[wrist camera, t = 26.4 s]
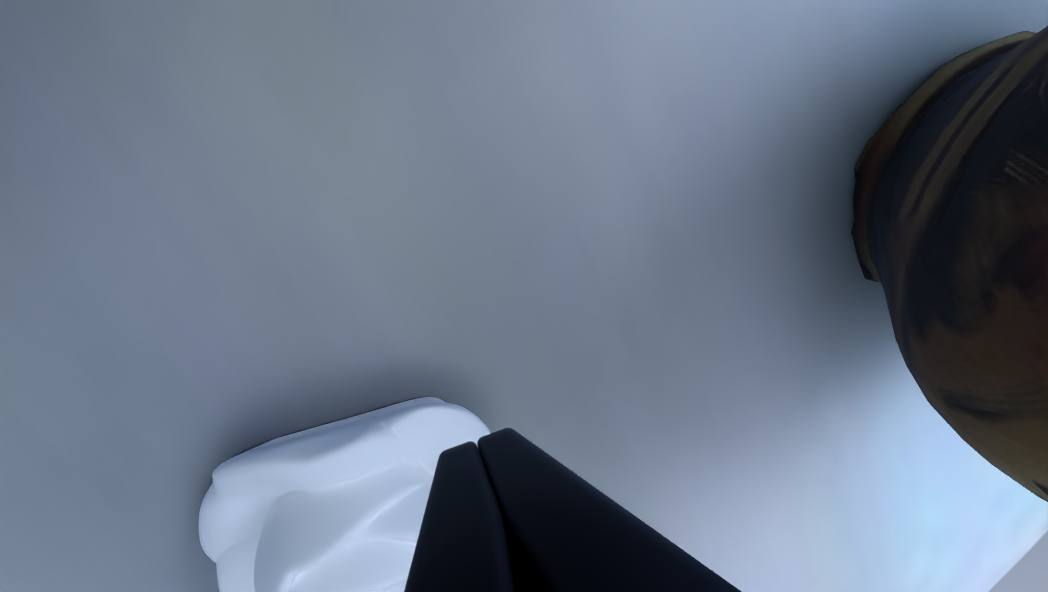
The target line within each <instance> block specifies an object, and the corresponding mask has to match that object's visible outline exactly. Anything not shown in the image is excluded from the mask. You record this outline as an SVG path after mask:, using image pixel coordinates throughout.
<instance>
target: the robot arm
mask: <svg viewBox="0 0 1048 592" xmlns="http://www.w3.org/2000/svg"><path fill="white" fill-rule="evenodd" d="M477 445H478V446H477ZM477 445H476V443H475V442H472V441H469V442H466V443H463V444H460V445H457V446H455V447H452V448H449V449H446V450H444V451H443V452H442V453H441V454H440V456H439V458H438V462H437V466H436V470H435V474H434V478H433V481H432V485H431V489H430V493H429V497H428V501H427V505H426V508H425V512H424V516H423V520H422V524H421V528H420V532H419V536H418V539H417V543H416V547H415V551H414V555H413V559H412V563H411V566H410V570H409V574H408V578H407V582H406V586H405V590H404V592H741V591H740V590H738V589H737V588H736V587H734V586H733V585H731V584H730V583H729V582H727V581H726V580H724V579H723V578H722V577H720V576H719V575H717V574H716V573H715V572H713V571H712V570H710V569H709V568H707V567H706V566H705V565H703V564H702V563H700V562H699V561H698V560H696V559H695V558H693V557H692V556H691V555H689V554H688V553H686V552H685V551H684V550H682V549H681V548H679V547H678V546H677V545H675V544H674V543H672V542H671V541H670V540H668V539H667V538H665V537H664V536H662V535H661V534H660V533H658V532H657V531H655V530H654V529H653V528H651V527H650V526H648V525H647V524H646V523H644V522H643V521H641V520H640V519H639V518H637V517H636V516H634V515H633V514H632V513H630V512H629V511H627V510H626V509H625V508H623V507H622V506H620V505H619V504H617V503H616V502H615V501H613V500H612V499H610V498H609V497H608V496H606V495H605V494H603V493H602V492H601V491H599V490H598V489H596V488H595V487H594V486H592V485H591V484H589V483H588V482H587V481H585V480H584V479H582V478H581V477H580V476H578V475H577V474H575V473H574V472H572V471H571V470H570V469H568V468H567V467H565V466H564V465H563V464H561V463H560V462H558V461H557V460H556V459H554V458H553V457H551V456H550V455H549V454H547V453H546V452H544V451H543V450H542V449H540V448H539V447H537V446H536V445H535V444H533V443H532V442H530V441H529V440H528V439H526V438H525V437H523V436H522V435H520V434H519V433H518V432H516V431H515V430H513V429H511V428H505V429H502V430H499V431H496V432H494V433H491V434H488V435H485V436H482V437H481V438H479V440H478V442H477Z"/></svg>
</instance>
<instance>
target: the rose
mask: <svg viewBox="0 0 1048 592" xmlns="http://www.w3.org/2000/svg"><path fill="white" fill-rule="evenodd" d="M488 434H491V433H490V431H489V429H488V428H487V427H486V425H485V424H484V423H483V421H482V420H480V419H479V418H478V417H477V416H476V415H475V414H473V413H472V412H471V411H469V410H467V409H466V408H464V407H462V406H460V405H456V404H452V403H445V402H444V401H443V400H441V399H439V398H436V397H422V398H417V399H413V400H409V401H405V402H401V403H398V404H394V405H391V406H387V407H384V408H381V409H378V410H374V411H371V412H368V413H364V414H361V415H357V416H354V417H350V418H347V419H343V420H339V421H336V422H332V423H329V424H325V425H321V426H318V427H314V428H311V429H307V430H303V431H300V432H296V433H293V434H290V435H286V436H283V437H279V438H276V439H273V440H271V441H268V442H266V443H264V444H262V445H260V446H257V447H255V448H253V449H250V450H248V451H246V452H244V453H242V454H239V455H237V456H235V457H232V458H230V459H228V460H226V461H224V462H223V463H221V464H220V465H219V466H217V467H216V468H215V470H214V471H213V473H212V479H213V483H212V484H211V486H210V488H209V490H208V491H207V493H206V495H205V497H204V499H203V501H202V504H201V508H200V512H199V537H200V543H201V546H202V548H203V550H204V552H205V553H206V555H207V556H208V557H209V558H210V559H211V560H212V561H214V562H215V563H216V569H217V580H218V586H219V590H220V592H404V590H405V586H406V582H407V578H408V574H409V570H410V566H411V563H412V559H413V555H414V551H415V547H416V543H417V539H418V536H419V532H420V528H421V524H422V520H423V516H424V512H425V508H426V505H427V501H428V497H429V493H430V489H431V485H432V481H433V478H434V474H435V470H436V466H437V462H438V458H439V456H440V454H441V453H442V452H443V451H444V450H446V449H449V448H452V447H455V446H457V445H460V444H463V443H466V442H469V441H472V442H475V443H476V445H477V442H478V440H479V438H481V437H482V436H485V435H488ZM477 446H478V445H477Z"/></svg>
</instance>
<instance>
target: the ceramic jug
mask: <svg viewBox="0 0 1048 592" xmlns="http://www.w3.org/2000/svg"><path fill="white" fill-rule="evenodd" d="M853 207H854V221H853V226H852V232H851V233H852V237H853V241H854V246H855V250H856V254H857V258H858V261H859V264H860V266H861V269H862V272H863V274H864V277H865V279H867V280H872V281H876V282H880V283H882V286H883V288H884V292H885V296H886V300H887V305H888V309H889V313H890V317H891V322H892V326H893V330H894V334H895V338H896V341H897V344H898V346H899V349H900V351H901V354H902V356H903V358H904V361H905V363H906V366H907V367H908V369H909V371H910V372H911V374H912V376H913V377H914V379H915V381H916V382H917V384H918V386H919V387H920V389H921V391H922V392H923V394H924V396H925V397H926V399H927V401H928V402H929V403H930V405H931V406H932V407H933V408H934V409H935V410H936V411H937V412H938V413H939V414H940V415H941V416H942V418H943V419H944V420H945V421H946V422H947V423H948V424H949V425H950V426H951V427H952V428H953V429H954V430H955V431H956V433H957V434H958V435H959V436H960V437H961V438H962V439H963V440H964V441H965V442H966V443H968V444H969V445H970V446H971V447H972V448H973V449H974V450H975V451H977V452H978V453H979V454H980V455H981V456H982V457H984V458H985V459H986V460H987V461H988V462H990V463H991V464H992V465H993V466H995V467H996V468H998V469H999V470H1000V471H1002V472H1003V473H1005V474H1006V475H1008V476H1009V477H1011V478H1012V479H1013V480H1015V481H1016V482H1018V483H1019V484H1021V485H1022V486H1023V487H1025V488H1026V489H1028V490H1029V491H1031V492H1032V493H1034V494H1035V495H1036V496H1038V497H1040V498H1042V499H1043V500H1045V501H1047V502H1048V26H1047V27H1046V28H1044V29H1043V30H1041V31H1040V32H1038V33H1034V32H1028V31H1023V32H1020V33H1016V34H1013V35H1010V36H1007V37H1004V38H1001V39H998V40H996V41H993V42H990V43H987V44H985V45H982V46H980V47H978V48H975V49H973V50H971V51H968V52H966V53H964V54H961V55H959V56H957V57H955V58H954V59H952V60H951V61H949V62H948V63H946V64H944V65H943V66H941V67H940V68H939V69H938V70H937V71H936V72H935V73H934V74H933V75H932V76H931V77H930V78H929V79H928V80H926V81H925V82H924V83H923V84H922V85H921V86H920V87H919V88H918V89H917V90H916V91H915V92H914V93H913V94H912V95H911V96H910V97H909V98H908V99H907V100H906V101H905V102H904V103H903V104H902V105H901V106H900V107H899V108H898V109H897V110H896V111H895V113H894V114H893V115H892V116H891V117H890V119H889V120H888V121H887V122H886V124H885V125H884V126H883V127H882V129H881V130H880V131H879V132H878V133H877V134H876V135H875V136H874V137H872V138H871V139H870V141H869V143H868V144H867V146H866V148H865V150H864V152H863V154H862V156H861V158H860V159H859V161H858V163H857V165H856V167H855V189H854V198H853Z"/></svg>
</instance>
